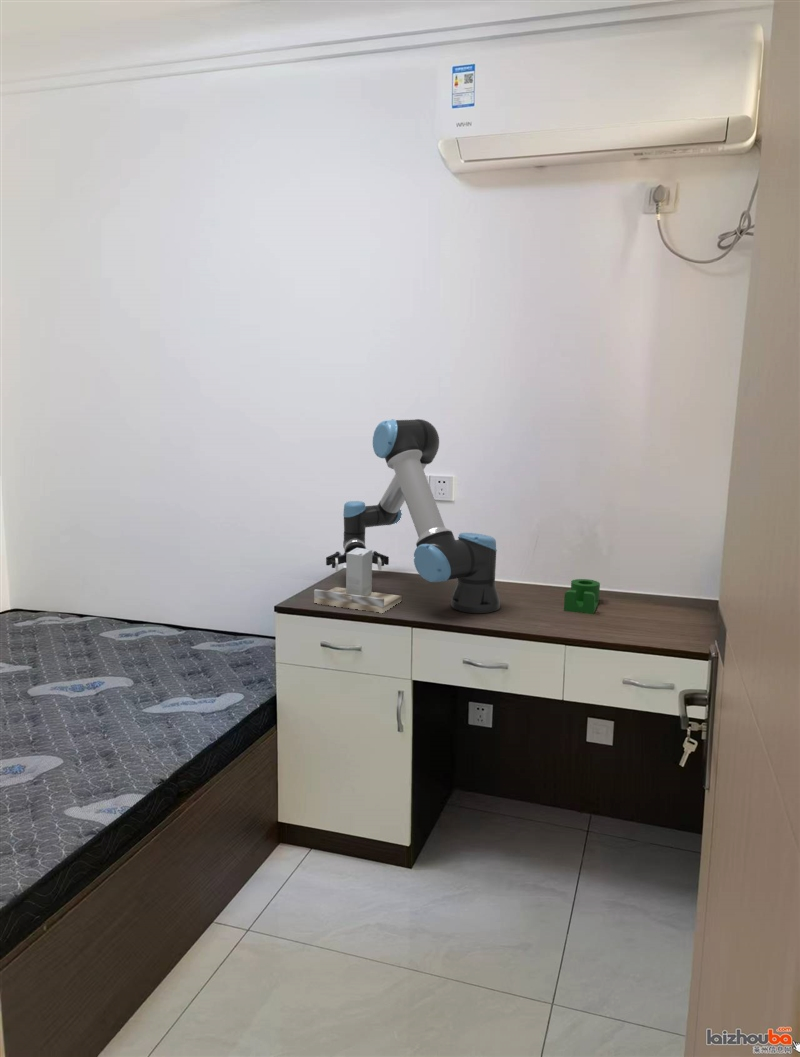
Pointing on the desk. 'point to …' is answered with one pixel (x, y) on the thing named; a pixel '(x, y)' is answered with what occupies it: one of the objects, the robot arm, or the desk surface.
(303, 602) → the desk surface
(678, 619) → the desk surface
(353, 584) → the skincare box
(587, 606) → the slotted cylinder bracket
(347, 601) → the shelf board
